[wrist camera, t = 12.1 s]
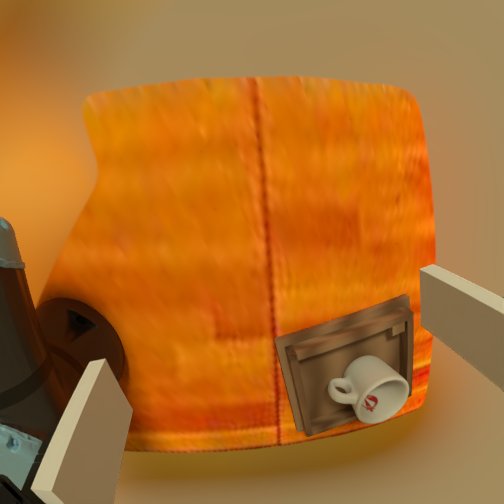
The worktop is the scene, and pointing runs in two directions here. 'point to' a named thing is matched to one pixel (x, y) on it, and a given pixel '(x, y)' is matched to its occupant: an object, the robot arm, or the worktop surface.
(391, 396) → the cup
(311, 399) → the square wooden tray
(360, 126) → the worktop surface
